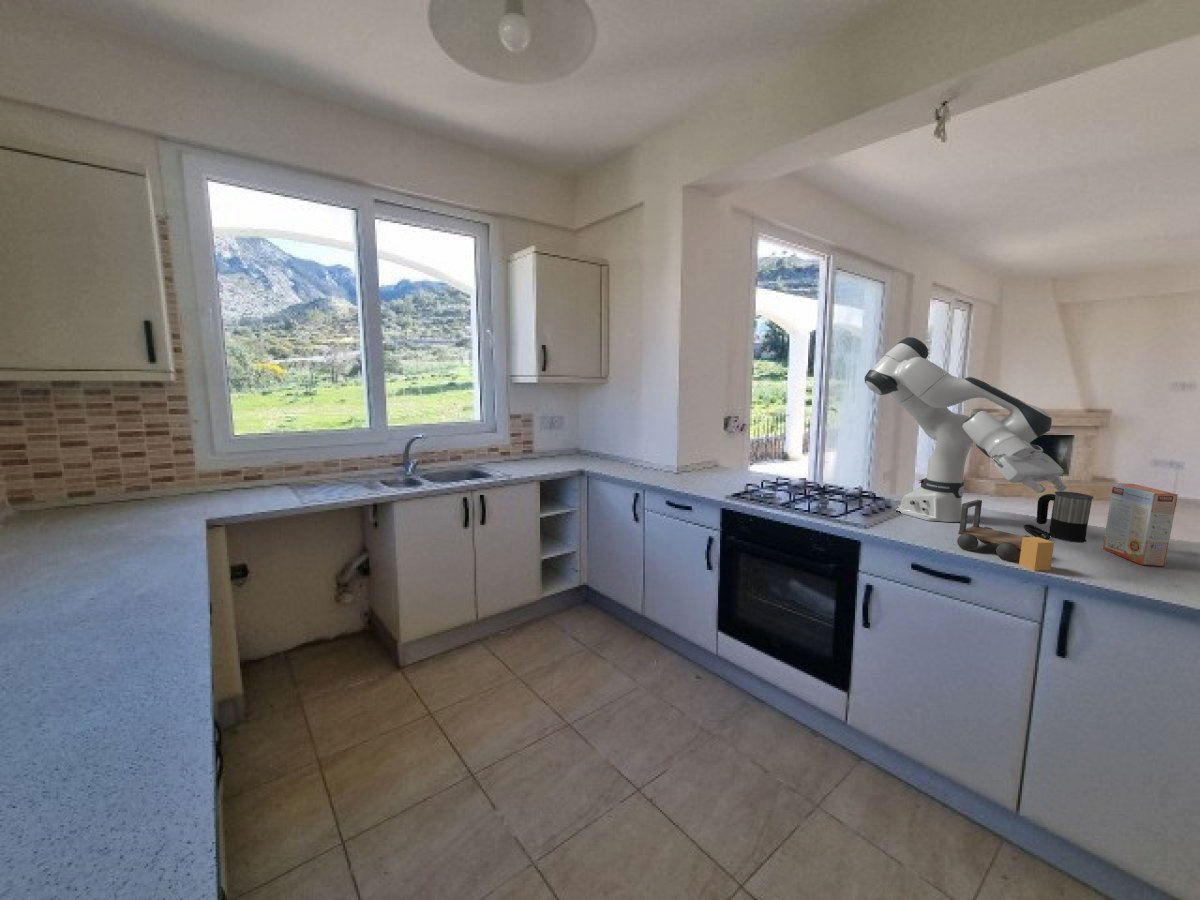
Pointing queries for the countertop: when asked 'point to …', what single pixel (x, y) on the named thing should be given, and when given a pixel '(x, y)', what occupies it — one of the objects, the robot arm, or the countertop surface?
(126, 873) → the countertop surface
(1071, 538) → the milk frother
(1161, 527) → the cracker box
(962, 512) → the trolley
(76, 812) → the countertop surface
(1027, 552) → the block
